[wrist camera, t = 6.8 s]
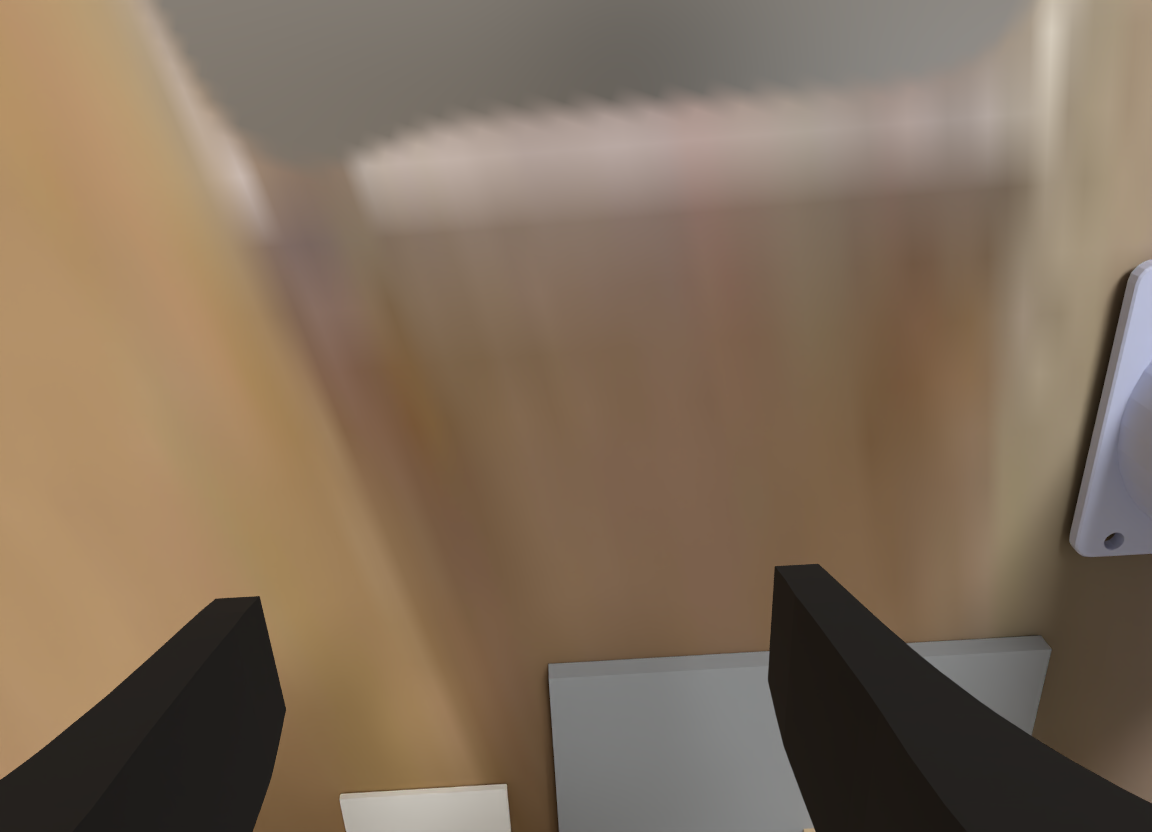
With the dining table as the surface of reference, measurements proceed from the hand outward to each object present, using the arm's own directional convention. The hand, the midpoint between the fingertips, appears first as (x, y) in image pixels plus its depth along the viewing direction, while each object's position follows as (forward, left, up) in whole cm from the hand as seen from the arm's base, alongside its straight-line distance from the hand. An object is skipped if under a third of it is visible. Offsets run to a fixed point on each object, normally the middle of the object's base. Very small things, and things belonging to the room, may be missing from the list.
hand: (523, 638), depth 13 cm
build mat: (-7, +15, -10) cm, 19 cm away
